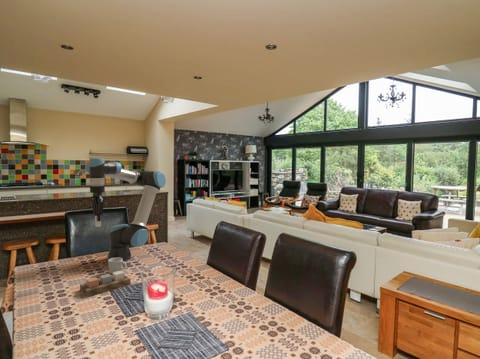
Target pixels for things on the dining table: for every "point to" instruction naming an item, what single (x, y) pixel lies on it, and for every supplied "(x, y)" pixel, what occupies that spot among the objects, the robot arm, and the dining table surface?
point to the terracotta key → (92, 282)
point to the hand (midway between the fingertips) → (98, 226)
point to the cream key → (118, 275)
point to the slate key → (105, 279)
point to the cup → (116, 264)
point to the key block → (104, 286)
